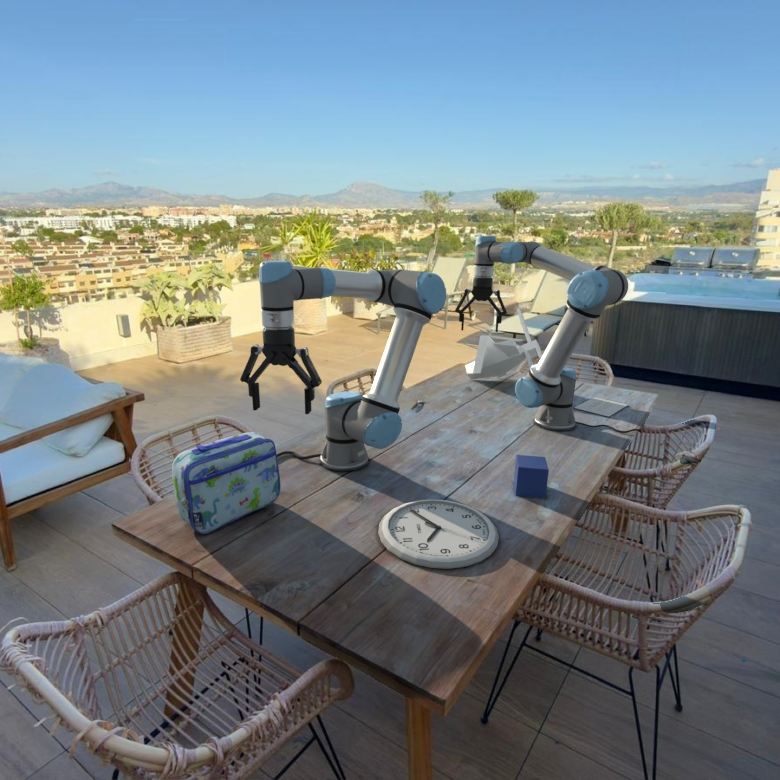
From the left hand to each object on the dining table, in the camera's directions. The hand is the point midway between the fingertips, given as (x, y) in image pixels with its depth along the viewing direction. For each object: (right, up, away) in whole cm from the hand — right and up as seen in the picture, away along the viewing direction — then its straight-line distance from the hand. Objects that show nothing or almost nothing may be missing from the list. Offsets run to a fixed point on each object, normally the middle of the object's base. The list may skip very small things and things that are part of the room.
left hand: (282, 410), depth 132 cm
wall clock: (+39, -30, 0) cm, 50 cm away
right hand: (+63, +29, +79) cm, 105 cm away
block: (+68, -24, +22) cm, 75 cm away
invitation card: (+119, -2, +95) cm, 152 cm away
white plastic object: (+83, +7, +122) cm, 147 cm away
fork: (+39, -1, +93) cm, 101 cm away
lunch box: (-14, -28, +5) cm, 32 cm away
